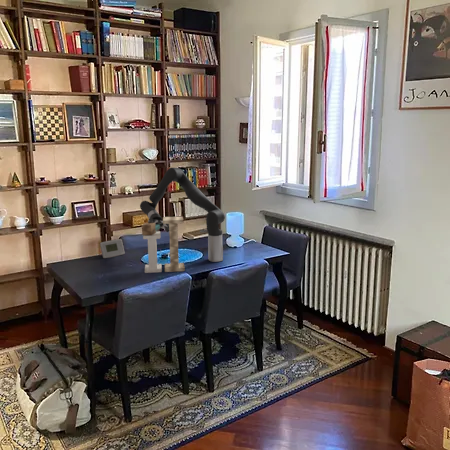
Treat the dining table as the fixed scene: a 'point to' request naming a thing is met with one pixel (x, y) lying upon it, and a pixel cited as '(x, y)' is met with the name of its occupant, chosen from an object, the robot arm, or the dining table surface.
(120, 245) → the digital clock
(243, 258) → the dining table surface
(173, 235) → the marbled pedestal stand
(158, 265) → the white column stand
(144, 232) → the teal and brown block
